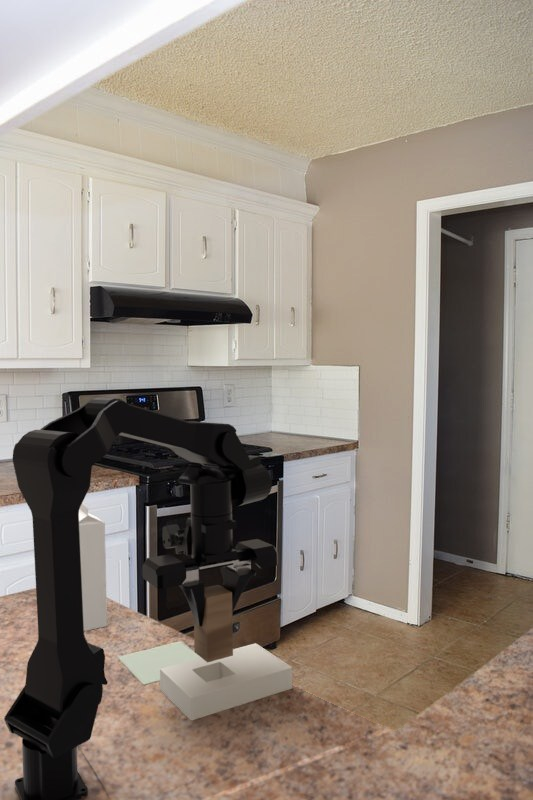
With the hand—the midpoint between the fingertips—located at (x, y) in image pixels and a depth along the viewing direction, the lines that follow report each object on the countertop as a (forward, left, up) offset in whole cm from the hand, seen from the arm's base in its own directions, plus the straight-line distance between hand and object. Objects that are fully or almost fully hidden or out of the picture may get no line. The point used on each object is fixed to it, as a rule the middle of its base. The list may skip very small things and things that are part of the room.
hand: (213, 622), depth 95 cm
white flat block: (0, -2, -11) cm, 11 cm away
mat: (+13, +2, -11) cm, 17 cm away
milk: (+36, +7, -11) cm, 38 cm away
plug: (0, 0, -4) cm, 4 cm away
